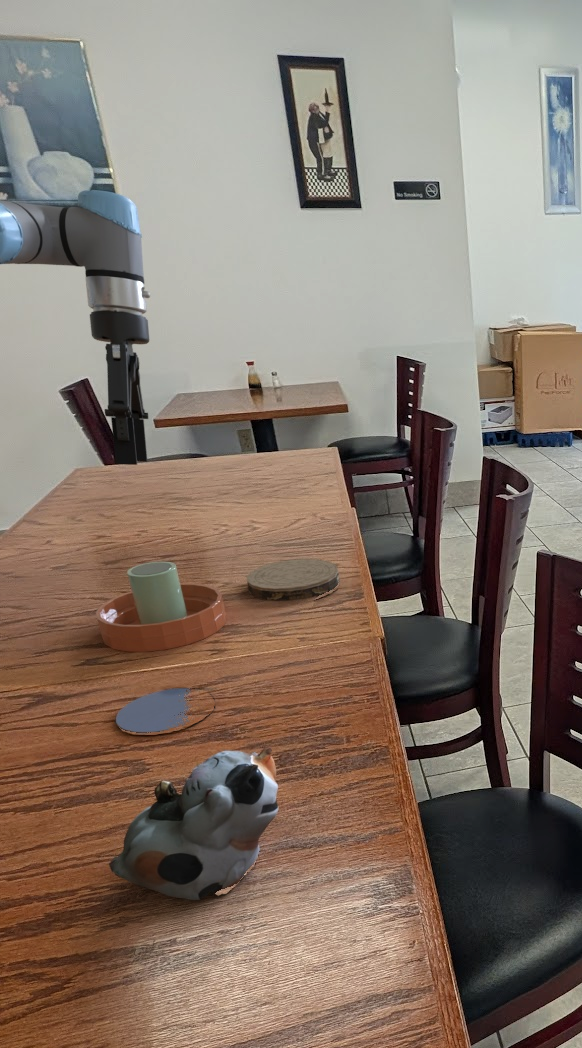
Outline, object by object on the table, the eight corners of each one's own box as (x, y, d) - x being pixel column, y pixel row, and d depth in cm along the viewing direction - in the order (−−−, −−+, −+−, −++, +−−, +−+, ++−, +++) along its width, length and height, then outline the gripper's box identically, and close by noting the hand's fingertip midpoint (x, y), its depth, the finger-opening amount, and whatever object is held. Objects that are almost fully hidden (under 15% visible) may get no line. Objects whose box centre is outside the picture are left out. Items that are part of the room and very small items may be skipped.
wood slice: (243, 608, 141) (240, 592, 140) (255, 577, 155) (252, 562, 154) (338, 600, 144) (336, 584, 142) (341, 570, 158) (339, 556, 156)
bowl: (79, 655, 124) (70, 625, 122) (141, 610, 141) (134, 583, 139) (196, 657, 123) (189, 626, 121) (245, 611, 140) (239, 583, 138)
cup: (133, 636, 129) (117, 576, 124) (155, 619, 135) (141, 561, 131) (176, 636, 128) (162, 576, 124) (197, 619, 135) (184, 561, 130)
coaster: (97, 735, 103) (96, 731, 103) (146, 690, 114) (145, 687, 114) (190, 737, 102) (189, 733, 102) (230, 692, 113) (229, 688, 113)
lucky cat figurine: (161, 822, 86) (204, 703, 84) (269, 864, 87) (315, 747, 85) (81, 883, 72) (132, 740, 70) (213, 932, 73) (266, 793, 71)
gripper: (137, 303, 109) (151, 466, 115) (155, 325, 132) (166, 460, 137) (72, 298, 107) (90, 465, 112) (103, 321, 129) (116, 459, 135)
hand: (132, 463), depth 125 cm, fingers open, 13 cm apart
